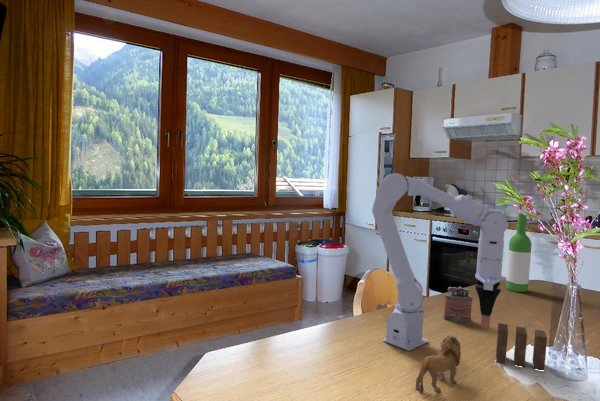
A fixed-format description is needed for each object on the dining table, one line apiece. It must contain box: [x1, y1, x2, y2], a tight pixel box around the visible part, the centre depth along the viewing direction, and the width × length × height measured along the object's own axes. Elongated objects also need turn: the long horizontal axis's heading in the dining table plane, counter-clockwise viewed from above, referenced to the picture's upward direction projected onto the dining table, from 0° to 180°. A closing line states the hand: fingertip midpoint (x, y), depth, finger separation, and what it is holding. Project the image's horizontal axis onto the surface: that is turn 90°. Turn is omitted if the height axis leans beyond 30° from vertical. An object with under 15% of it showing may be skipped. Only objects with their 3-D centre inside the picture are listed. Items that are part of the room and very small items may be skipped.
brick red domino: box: [480, 314, 491, 329], centre depth 109 cm, size 2×5×8 cm, turn 157°
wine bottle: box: [505, 212, 532, 293], centre depth 169 cm, size 8×8×30 cm
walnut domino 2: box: [513, 325, 528, 368], centre depth 104 cm, size 2×5×8 cm, turn 156°
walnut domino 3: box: [532, 328, 548, 371], centre depth 102 cm, size 2×5×8 cm, turn 156°
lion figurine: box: [415, 335, 462, 395], centre depth 92 cm, size 15×5×9 cm, turn 137°
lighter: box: [442, 286, 474, 323], centre depth 133 cm, size 8×3×10 cm, turn 84°
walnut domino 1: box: [495, 322, 509, 365], centre depth 105 cm, size 2×5×8 cm, turn 157°
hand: (485, 311), depth 109 cm, fingers closed on brick red domino, 5 cm apart
